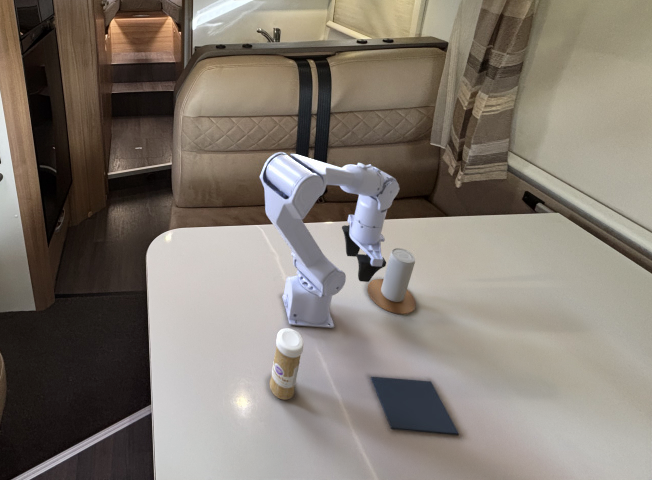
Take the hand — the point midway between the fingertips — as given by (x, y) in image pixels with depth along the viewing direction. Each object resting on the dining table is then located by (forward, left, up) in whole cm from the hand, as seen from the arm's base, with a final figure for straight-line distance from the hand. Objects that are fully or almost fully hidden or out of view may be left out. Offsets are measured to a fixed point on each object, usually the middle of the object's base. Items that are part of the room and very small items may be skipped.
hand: (357, 267), depth 98 cm
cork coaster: (+9, 0, -8) cm, 12 cm away
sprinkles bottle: (-21, -24, -8) cm, 33 cm away
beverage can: (+9, 0, -8) cm, 12 cm away
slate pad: (+2, -25, -8) cm, 26 cm away
